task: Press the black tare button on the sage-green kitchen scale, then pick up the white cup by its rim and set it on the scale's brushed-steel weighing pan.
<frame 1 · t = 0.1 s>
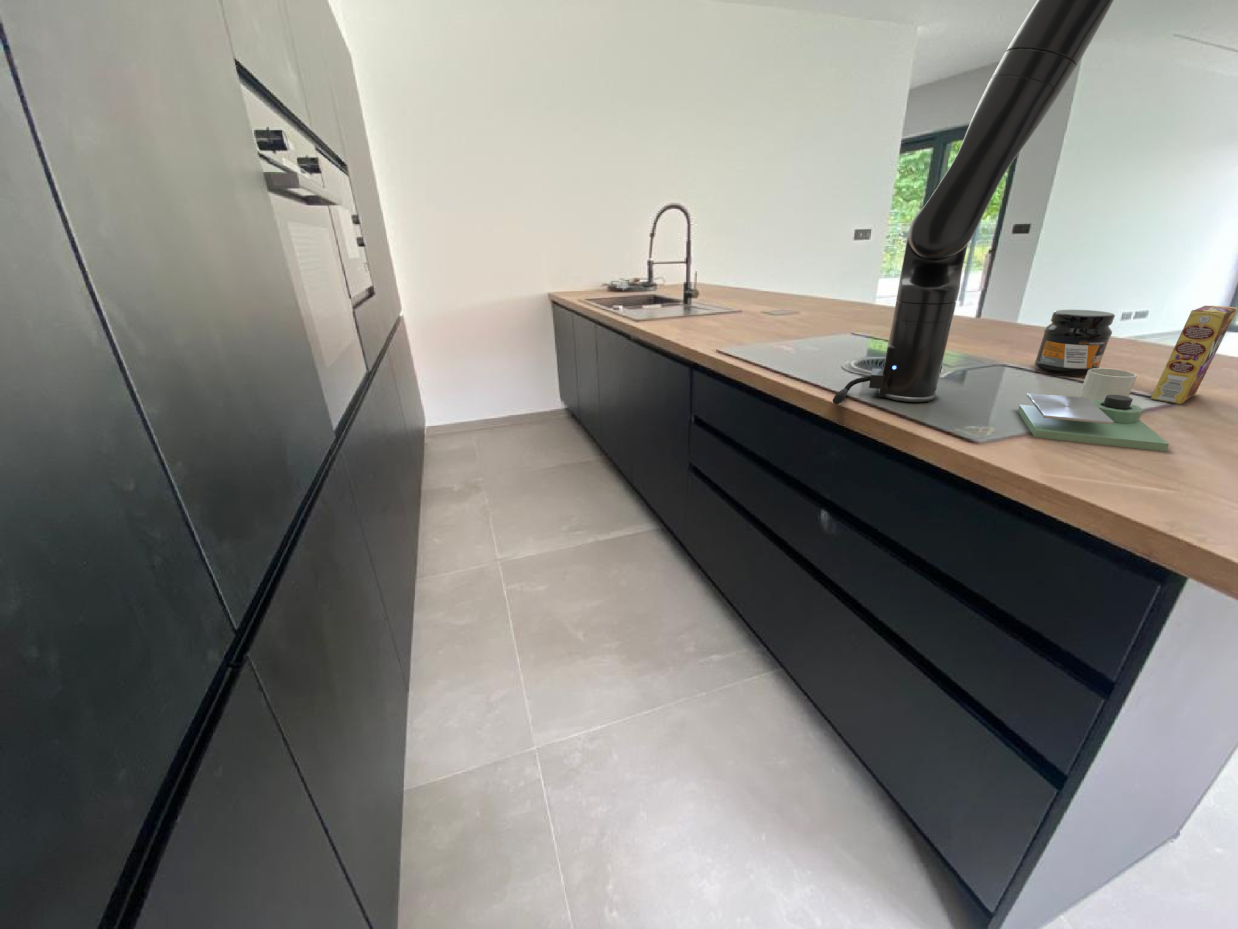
candy box: (1173, 398, 88), on the table
scale: (1083, 429, 77), on the table
white cup: (1100, 403, 87), on the table
scale pan: (1066, 407, 77), on the scale, point 3 cm above the table
tare button: (1117, 402, 77), point 3 cm above the table, slide at 0.1 cm
supplement container: (1063, 371, 106), on the table
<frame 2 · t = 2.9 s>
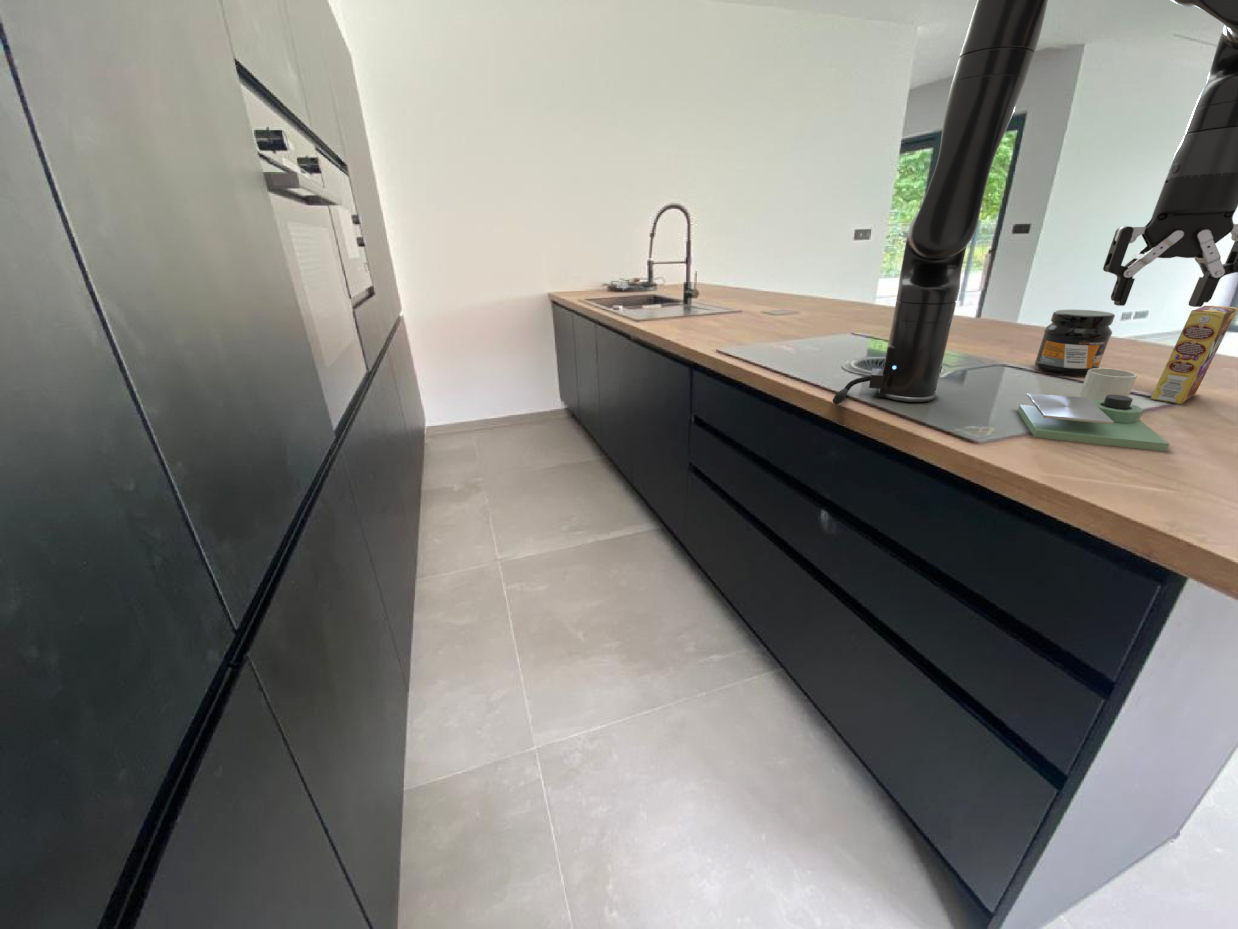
hand: (1155, 305, 71), 18 cm above the table, tool pointing down, fingers open, 7 cm apart
nothing on the table moved.
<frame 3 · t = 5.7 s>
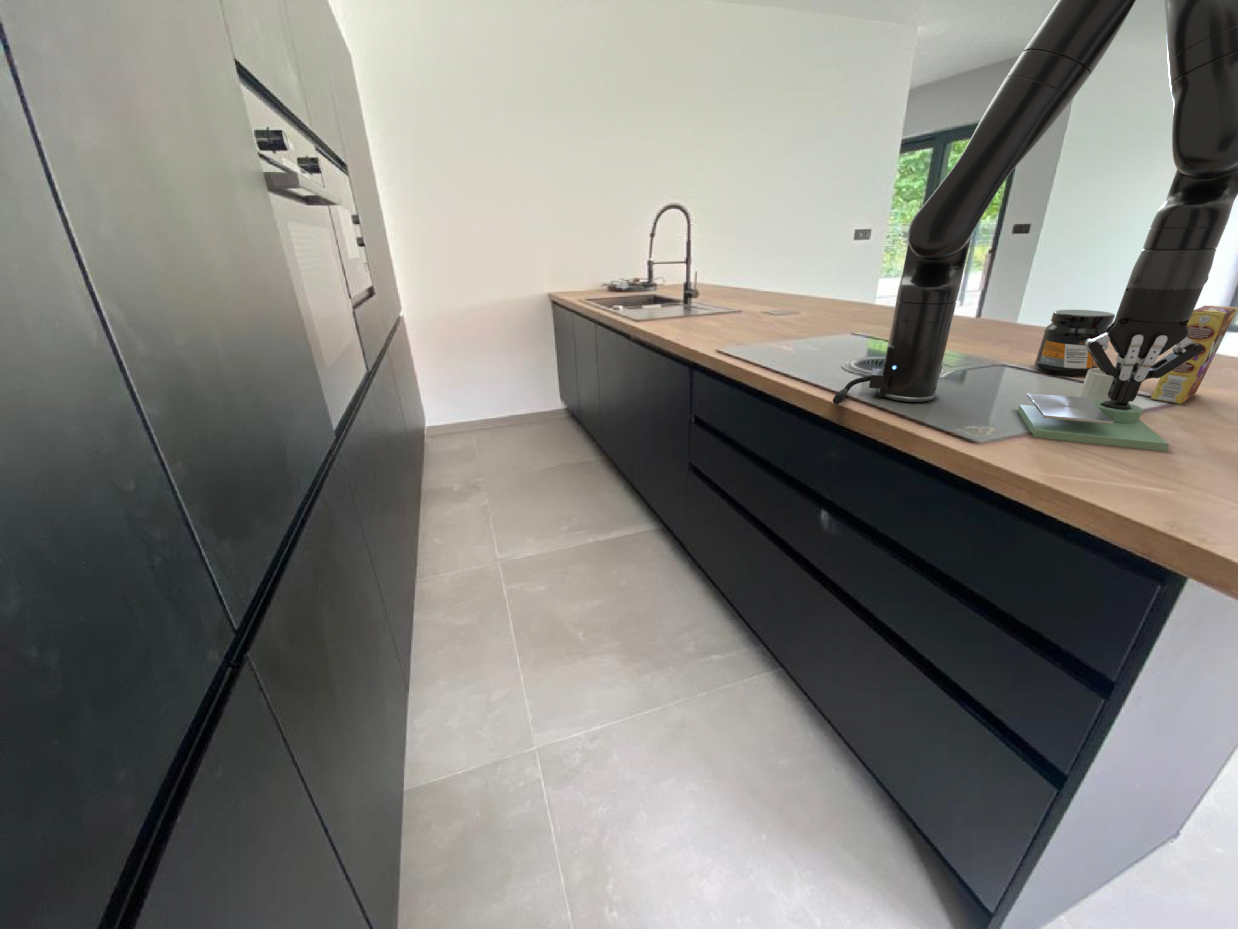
hand: (1118, 403, 77), 3 cm above the table, tool pointing down, fingers closed
tare button: (1114, 408, 77), point 3 cm above the table, slide at -0.8 cm, touching gripper
everything else where it was.
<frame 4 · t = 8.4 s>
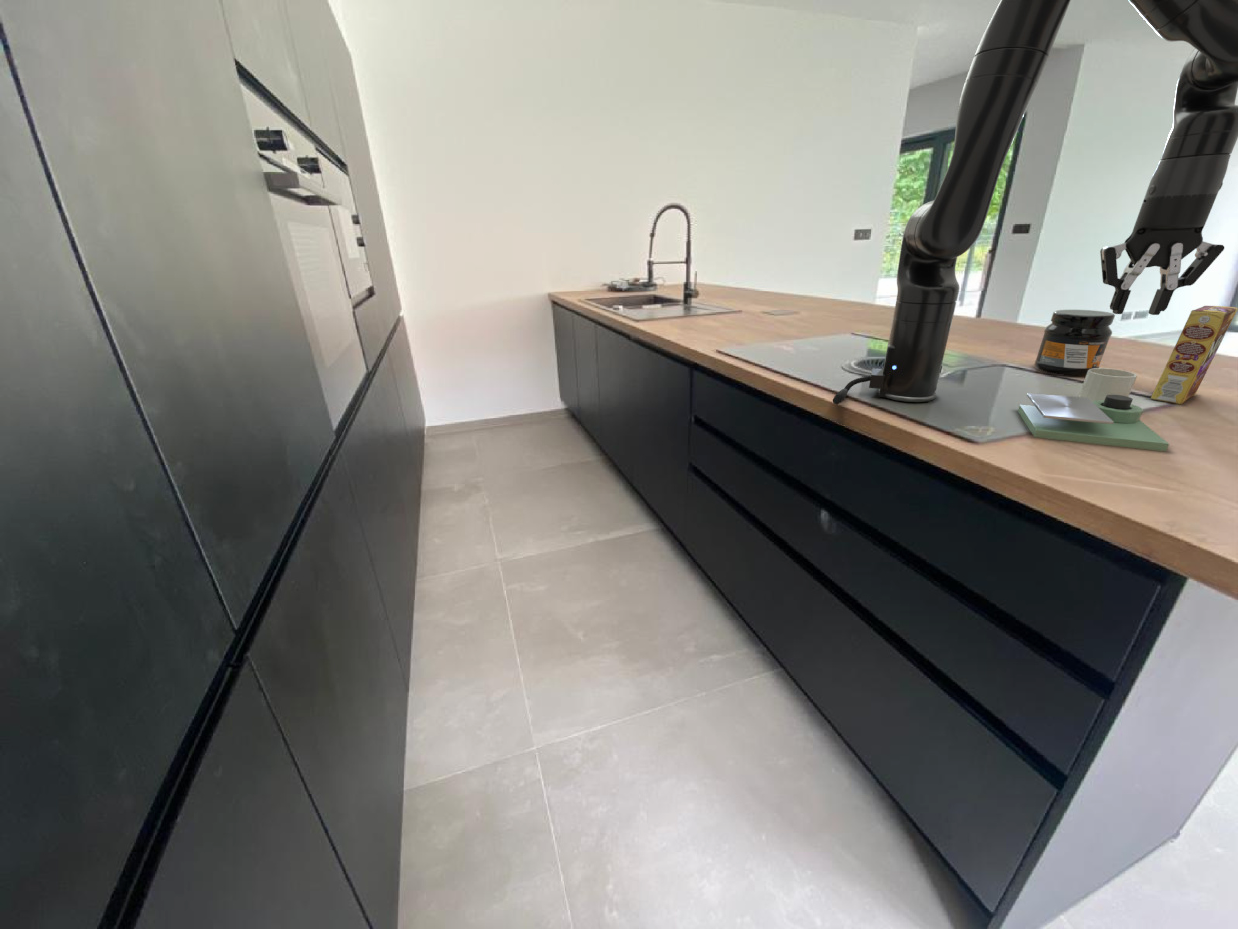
hand: (1134, 313, 81), 15 cm above the table, tool pointing down, fingers open, 4 cm apart
tare button: (1117, 402, 77), point 4 cm above the table, slide at 0.1 cm
everything else where it was.
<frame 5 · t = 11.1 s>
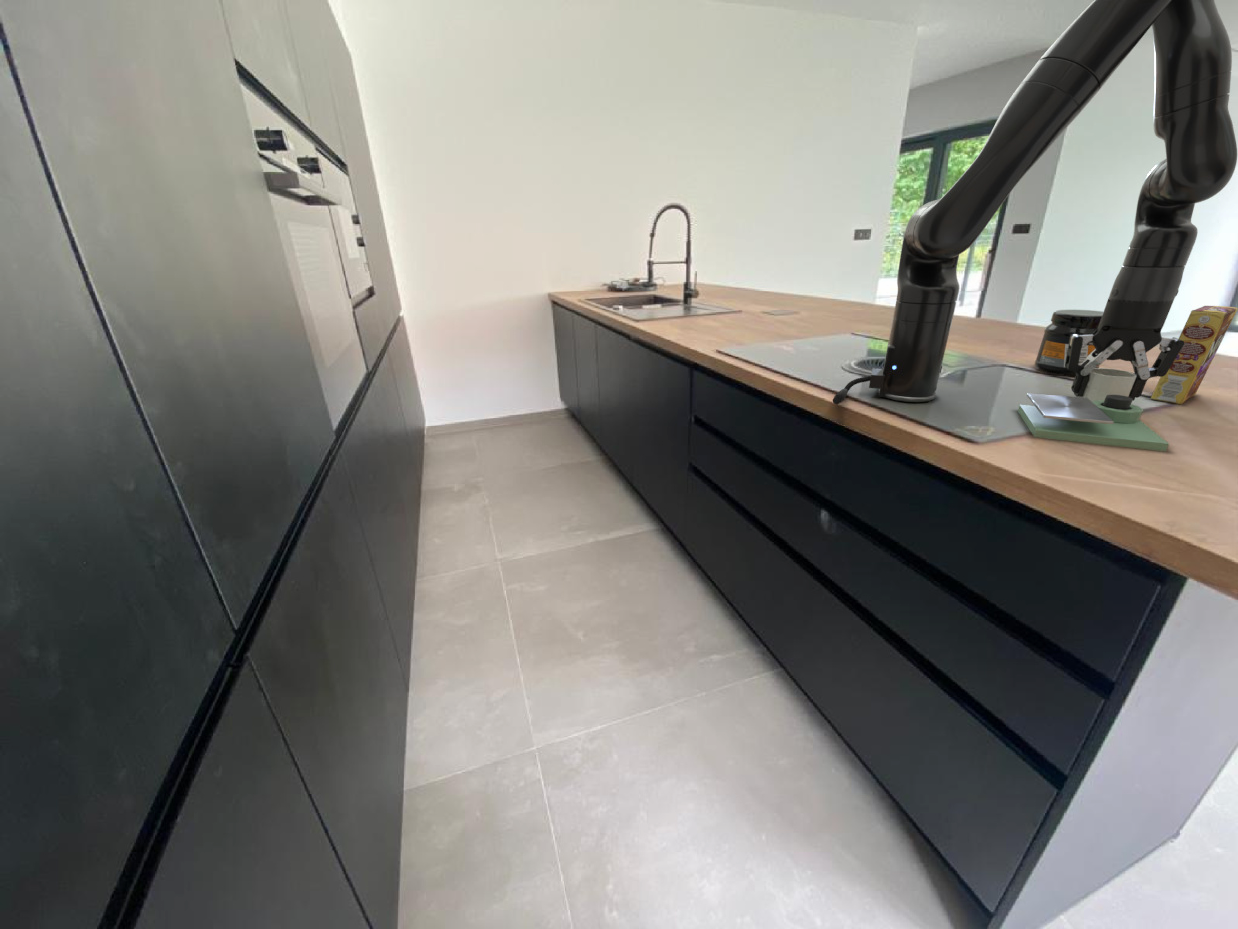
hand: (1102, 397, 87), 1 cm above the table, tool pointing down, fingers closed on white cup, 6 cm apart
white cup: (1100, 403, 87), on the table, touching gripper
everything else where it was.
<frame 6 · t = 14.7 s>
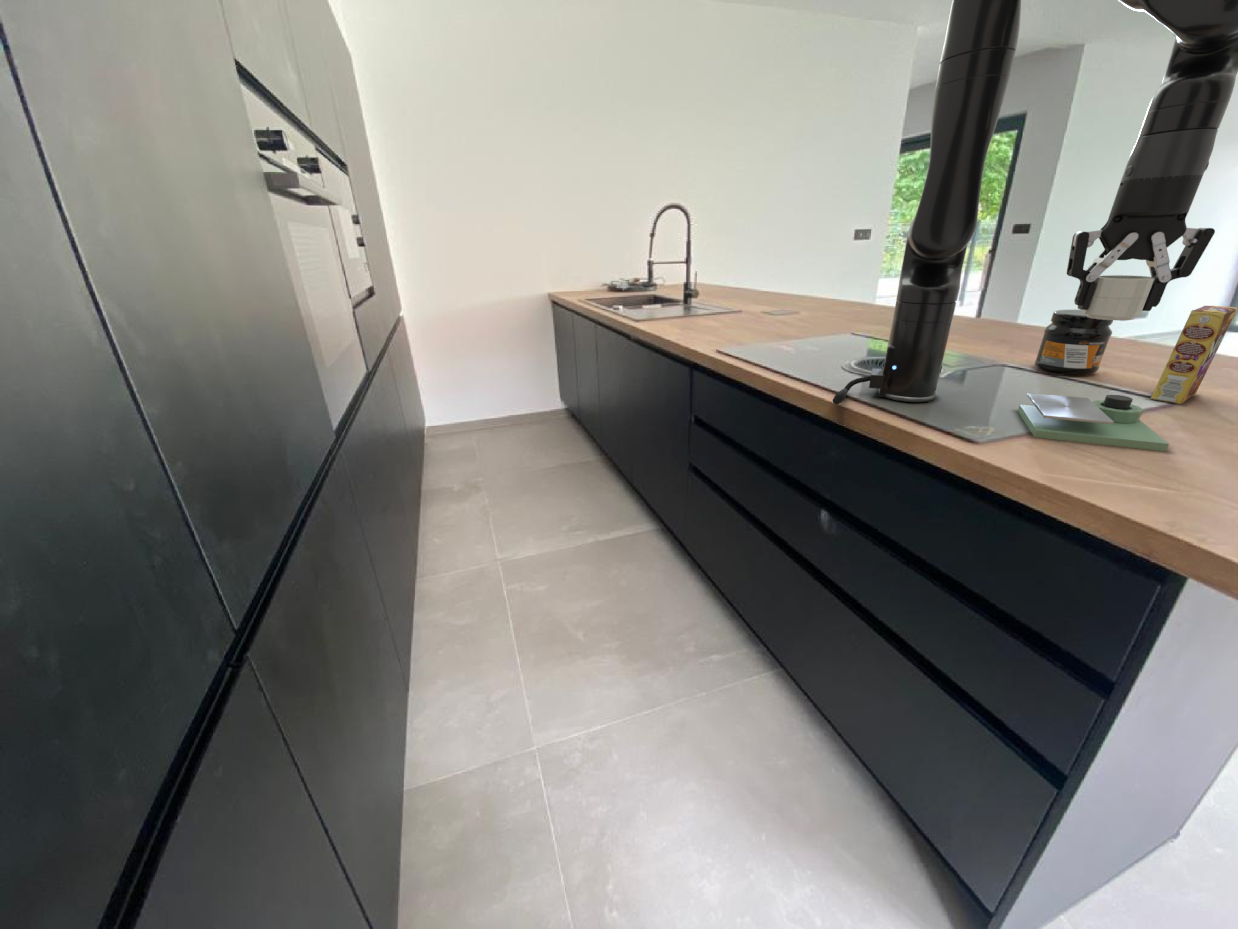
hand: (1112, 309, 71), 18 cm above the table, tool pointing down, fingers closed on white cup, 6 cm apart
white cup: (1109, 317, 72), point 16 cm above the table, touching gripper
everything else where it was.
when the fingers open (5 cm above the table, at t = 18.6 s): white cup stays where it is, resting on scale pan.
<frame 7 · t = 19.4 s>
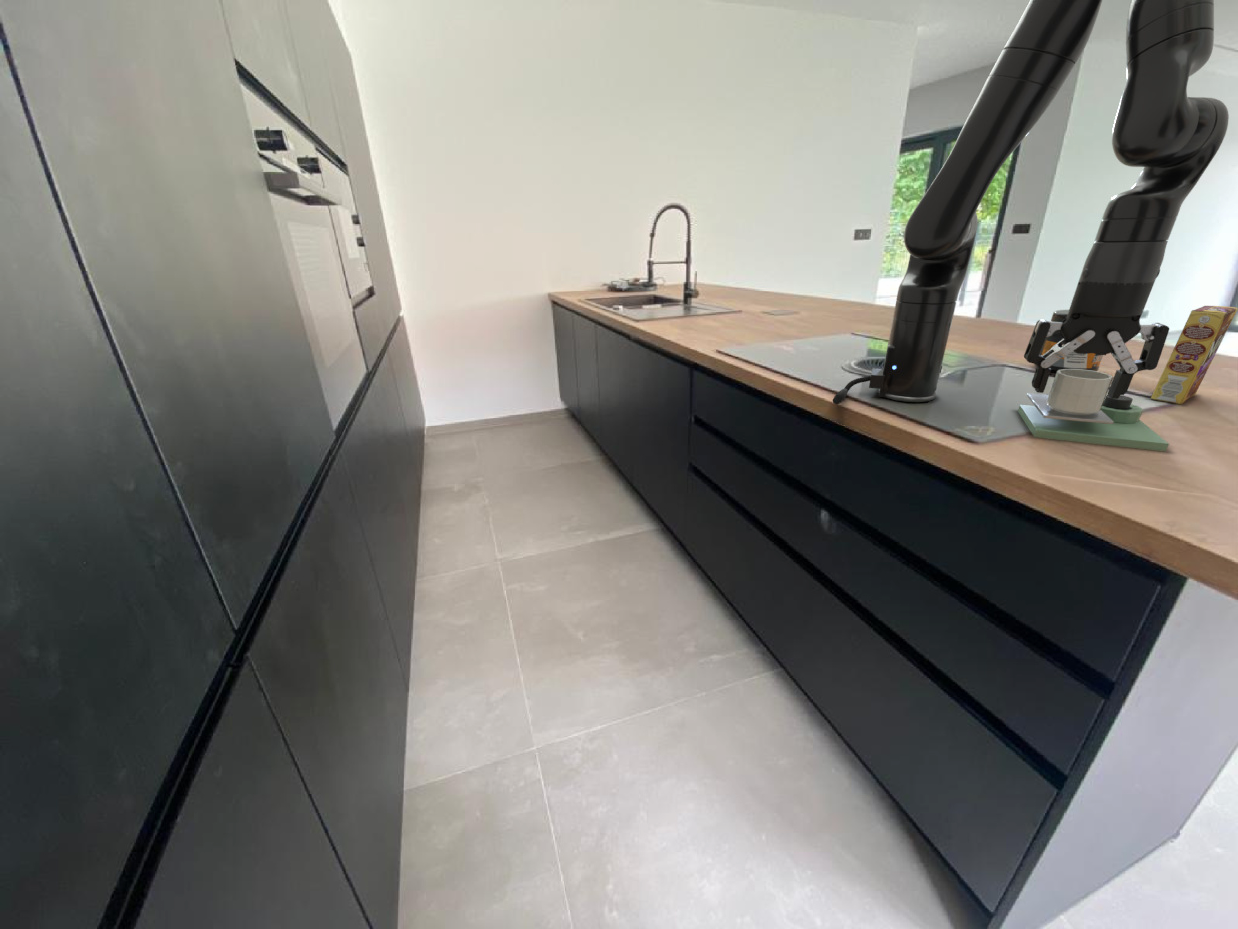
hand: (1074, 394, 74), 6 cm above the table, tool pointing down, fingers open, 8 cm apart
white cup: (1071, 409, 75), point 3 cm above the table, touching scale pan
everything else where it was.
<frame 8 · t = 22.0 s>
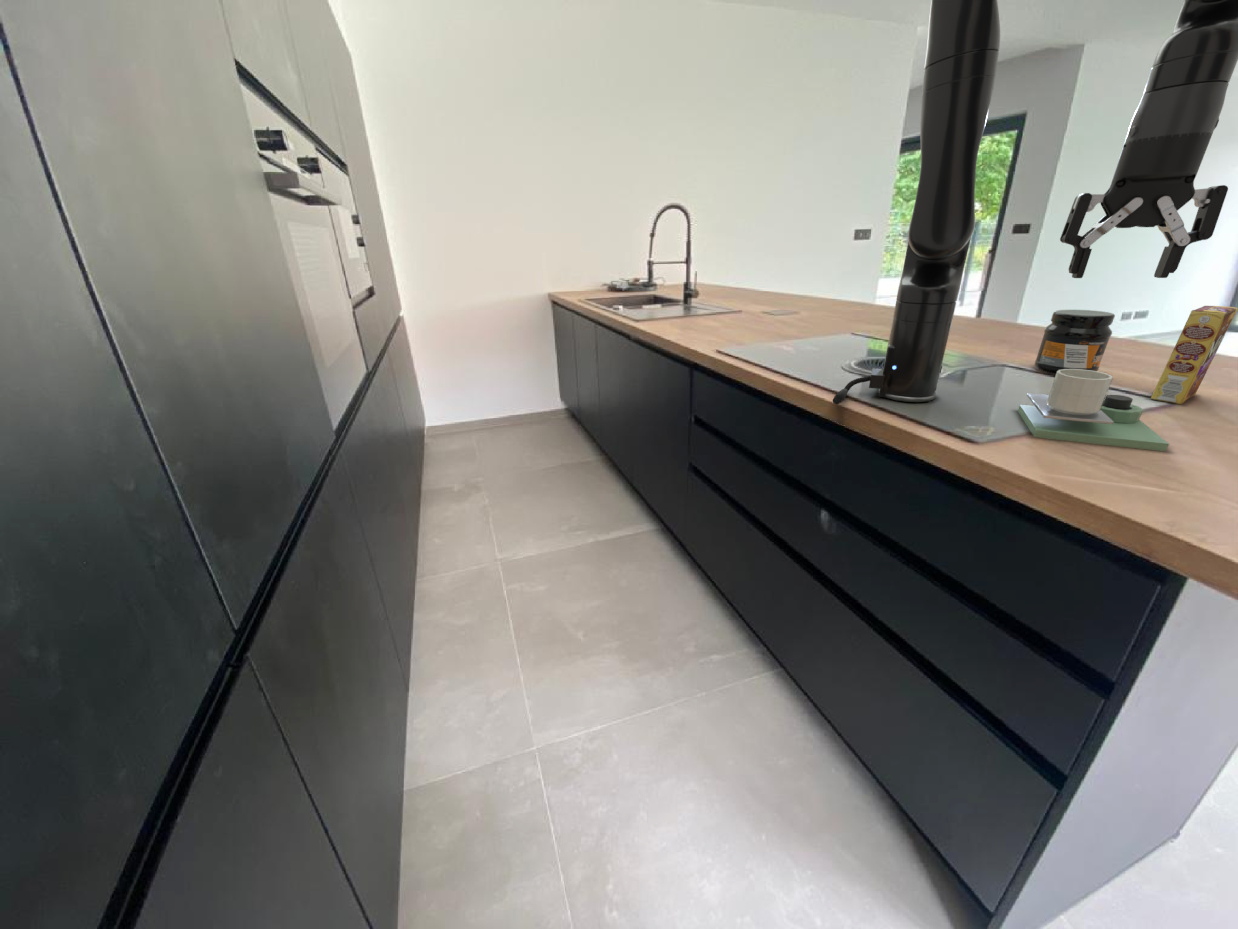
hand: (1117, 277, 67), 22 cm above the table, tool pointing down, fingers open, 8 cm apart
nothing on the table moved.
at the end: tare button pushed in 1.2 cm at the most during the clip, back to where it started at the end; tare button slide at 0.1 cm; white cup inside the target area on the scale (1.9 cm from its centre), point 3.4 cm above the scale's base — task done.
